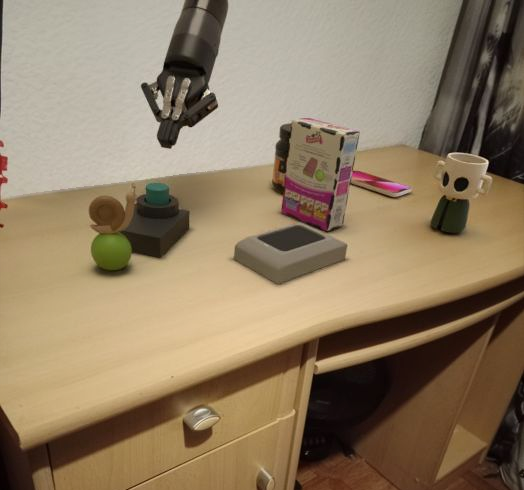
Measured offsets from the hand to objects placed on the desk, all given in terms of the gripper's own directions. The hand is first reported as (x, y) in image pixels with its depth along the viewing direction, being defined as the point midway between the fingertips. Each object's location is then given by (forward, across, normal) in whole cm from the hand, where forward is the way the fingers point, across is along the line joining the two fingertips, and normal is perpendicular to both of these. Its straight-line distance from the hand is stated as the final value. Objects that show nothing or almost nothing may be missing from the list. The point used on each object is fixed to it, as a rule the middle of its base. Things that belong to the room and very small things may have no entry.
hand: (164, 145), depth 84 cm
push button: (+8, 0, +3) cm, 9 cm away
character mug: (-6, +47, +24) cm, 53 cm away
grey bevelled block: (+12, +23, +6) cm, 26 cm away
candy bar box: (0, +23, +18) cm, 29 cm away
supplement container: (-11, +17, +29) cm, 35 cm away
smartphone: (-19, +32, +37) cm, 53 cm away
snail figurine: (+22, 0, -4) cm, 22 cm away
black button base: (+14, 0, +4) cm, 14 cm away
